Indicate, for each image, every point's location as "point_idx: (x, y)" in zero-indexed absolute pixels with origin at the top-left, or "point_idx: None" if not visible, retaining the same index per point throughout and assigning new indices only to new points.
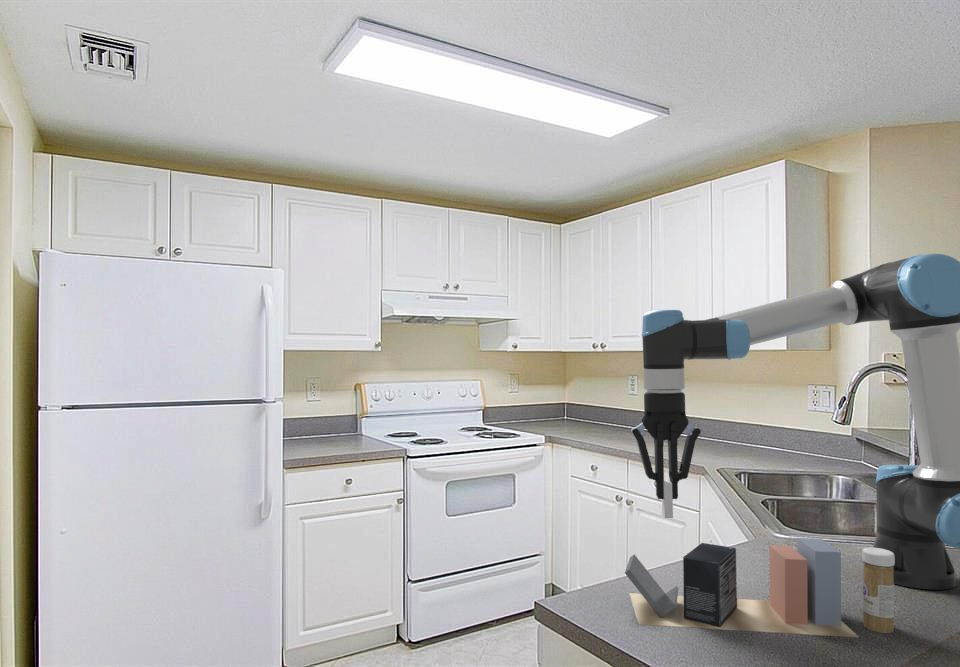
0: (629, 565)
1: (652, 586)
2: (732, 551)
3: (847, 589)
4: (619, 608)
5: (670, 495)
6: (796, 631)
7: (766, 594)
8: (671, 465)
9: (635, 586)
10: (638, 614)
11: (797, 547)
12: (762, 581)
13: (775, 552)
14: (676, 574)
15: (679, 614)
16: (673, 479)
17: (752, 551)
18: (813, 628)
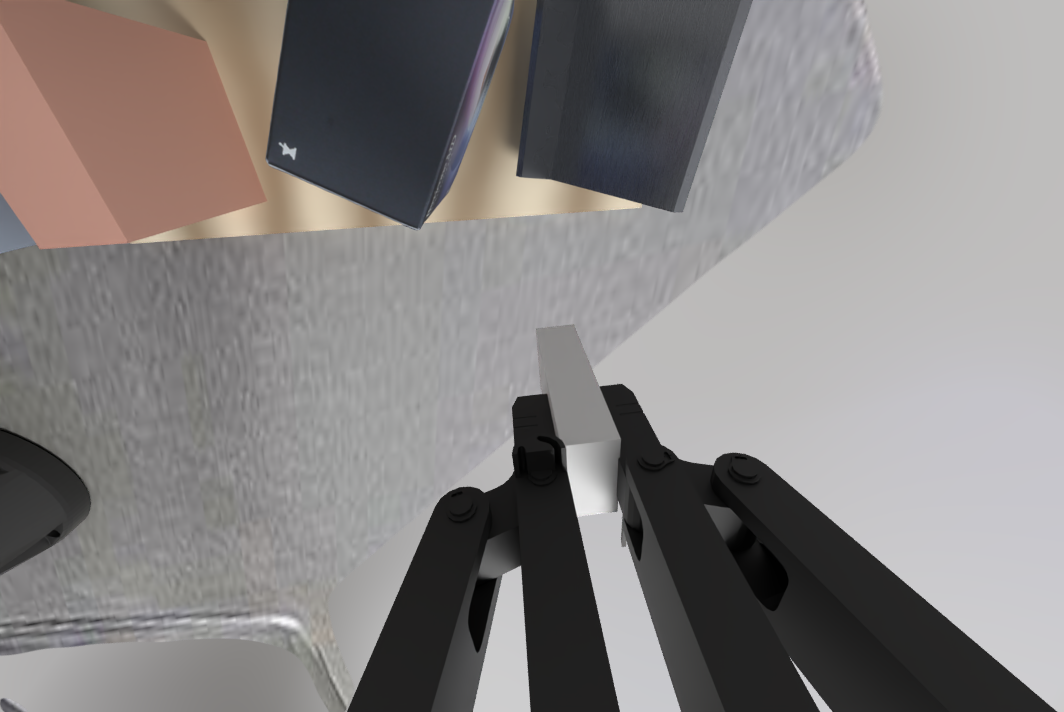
0: (725, 60)
1: (606, 107)
2: (274, 97)
3: (111, 385)
4: None
5: (560, 390)
6: None
7: (291, 313)
8: (587, 585)
9: None
10: None
11: (13, 249)
12: (305, 392)
13: (85, 153)
14: (498, 393)
15: (523, 48)
16: (552, 468)
17: (334, 543)
18: (115, 6)
